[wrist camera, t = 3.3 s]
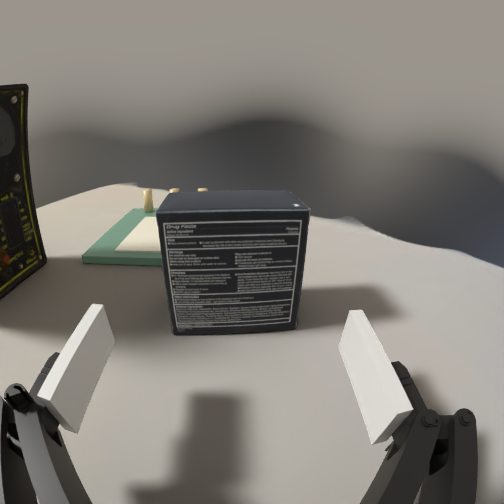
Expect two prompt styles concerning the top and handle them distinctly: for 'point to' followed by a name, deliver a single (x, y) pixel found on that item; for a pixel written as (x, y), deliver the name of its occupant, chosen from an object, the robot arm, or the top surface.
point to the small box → (232, 260)
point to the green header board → (131, 238)
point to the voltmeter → (16, 193)
